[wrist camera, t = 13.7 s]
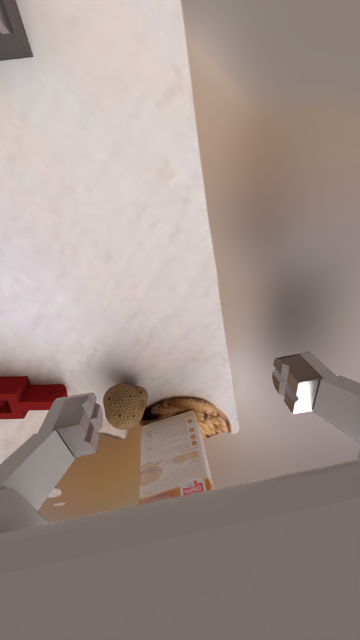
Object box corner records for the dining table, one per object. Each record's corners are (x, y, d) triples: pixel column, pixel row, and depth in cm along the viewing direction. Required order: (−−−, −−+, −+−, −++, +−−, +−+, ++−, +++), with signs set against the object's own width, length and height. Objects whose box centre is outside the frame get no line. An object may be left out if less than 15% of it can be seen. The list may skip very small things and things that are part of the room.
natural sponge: (98, 388, 50) (87, 427, 41) (123, 365, 48) (117, 401, 39) (129, 405, 54) (125, 444, 45) (153, 384, 51) (154, 421, 43)
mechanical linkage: (-4, 400, 48) (-20, 419, 44) (-14, 375, 45) (-32, 394, 40) (72, 398, 51) (64, 417, 46) (68, 375, 47) (59, 393, 43)
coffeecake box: (150, 439, 61) (150, 530, 44) (140, 425, 58) (136, 517, 41) (200, 424, 61) (219, 510, 44) (193, 408, 57) (212, 495, 40)
